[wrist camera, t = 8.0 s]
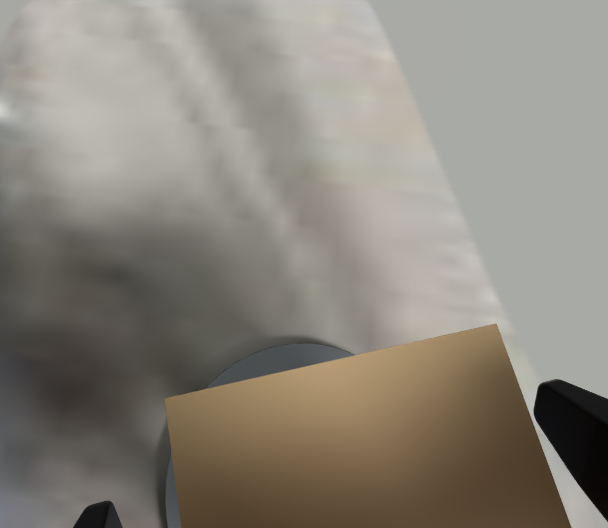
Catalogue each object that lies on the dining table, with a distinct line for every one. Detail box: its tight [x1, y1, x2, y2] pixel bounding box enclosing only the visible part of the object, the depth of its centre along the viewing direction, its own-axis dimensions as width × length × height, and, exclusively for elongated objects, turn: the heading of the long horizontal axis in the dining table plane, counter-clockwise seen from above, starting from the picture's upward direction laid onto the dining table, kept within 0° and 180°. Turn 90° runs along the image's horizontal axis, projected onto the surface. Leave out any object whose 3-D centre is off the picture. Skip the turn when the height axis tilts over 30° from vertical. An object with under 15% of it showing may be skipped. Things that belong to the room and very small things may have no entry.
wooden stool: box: [164, 324, 571, 528], centre depth 12 cm, size 6×6×10 cm
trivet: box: [165, 343, 355, 528], centre depth 17 cm, size 10×10×1 cm
